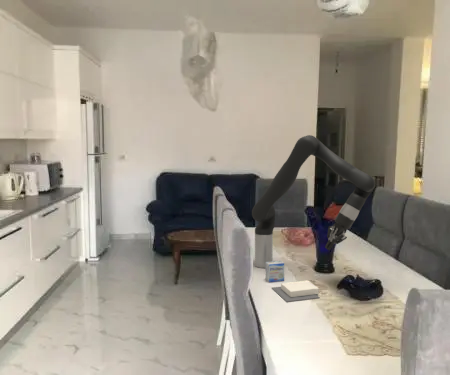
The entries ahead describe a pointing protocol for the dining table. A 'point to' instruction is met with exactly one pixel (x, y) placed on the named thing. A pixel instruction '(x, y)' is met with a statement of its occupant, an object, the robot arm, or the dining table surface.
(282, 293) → the mat
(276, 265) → the medicine box
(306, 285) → the white and teal block
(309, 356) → the dining table surface
